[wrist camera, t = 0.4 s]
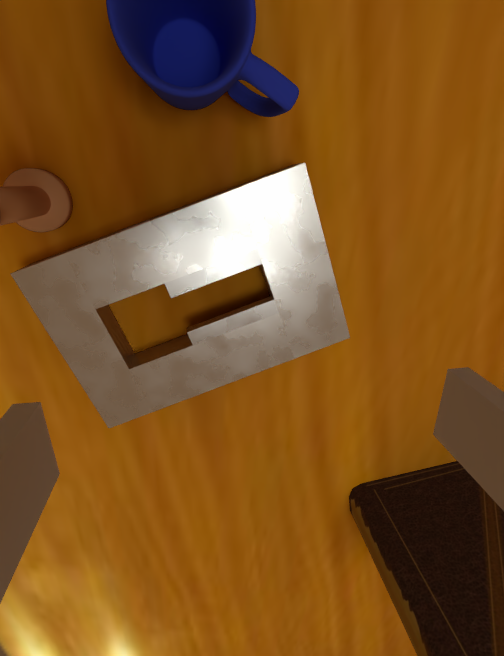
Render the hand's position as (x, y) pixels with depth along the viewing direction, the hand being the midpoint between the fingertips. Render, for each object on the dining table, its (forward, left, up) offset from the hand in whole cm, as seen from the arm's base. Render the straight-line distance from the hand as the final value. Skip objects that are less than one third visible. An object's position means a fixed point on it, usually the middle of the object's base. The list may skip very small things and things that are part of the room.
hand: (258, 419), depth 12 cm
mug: (-14, +5, -26) cm, 30 cm away
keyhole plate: (+3, -3, -26) cm, 26 cm away
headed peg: (-10, -12, -26) cm, 30 cm away
